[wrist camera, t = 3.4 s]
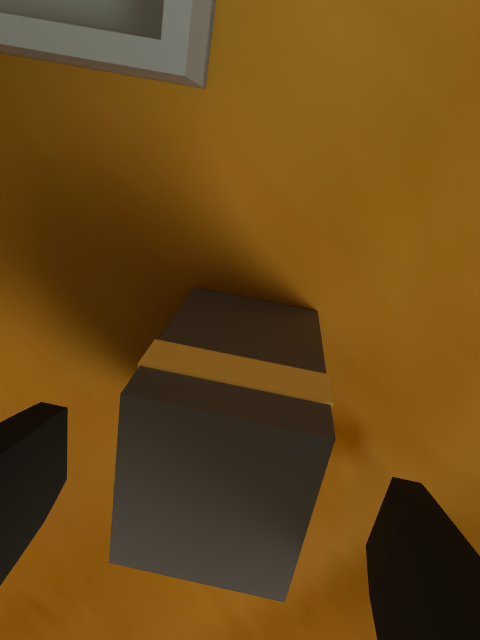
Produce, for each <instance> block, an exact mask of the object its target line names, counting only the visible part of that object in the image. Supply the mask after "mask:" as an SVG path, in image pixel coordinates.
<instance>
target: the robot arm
mask: <svg viewBox="0 0 480 640" xmlns="http://www.w3.org/2000/svg"><path fill="white" fill-rule="evenodd" d="M67 415H68V408H67V407H62V406H58V405H53V404H48V403H44V402H40V403H38V404H36V405H34V406H32V407H30V408H28V409H26V410H24V411H22V412H20V413H18V414H16V415H14V416H12V417H10V418H8V419H6V420H4V421H2V422H1V423H0V585H1V584H2V582H3V581H4V580H5V578H6V577H7V575H8V574H9V572H10V571H11V569H12V568H13V567H14V565H15V564H16V562H17V561H18V559H19V558H20V557H21V555H22V554H23V552H24V551H25V549H26V548H27V546H28V545H29V543H30V542H31V540H32V539H33V538H34V536H35V535H36V533H37V532H38V530H39V529H40V527H41V526H42V524H43V523H44V521H45V519H46V517H47V516H48V514H49V512H50V510H51V508H52V506H53V505H54V503H55V501H56V499H57V497H58V495H59V493H60V491H61V489H62V487H63V485H64V483H65V481H66V480H67ZM366 554H367V571H368V584H369V596H370V601H371V607H372V613H373V618H374V624H375V629H376V635H377V640H480V556H479V555H478V553H477V552H476V551H475V550H474V548H473V547H472V546H471V545H470V543H469V542H468V541H467V540H466V538H465V537H464V536H463V535H462V533H461V532H460V531H459V530H458V528H457V527H456V526H455V525H454V523H453V522H452V521H451V519H450V518H449V517H448V516H447V514H446V513H445V512H444V511H443V509H442V508H441V507H440V505H439V504H438V503H437V502H436V500H435V499H434V498H433V497H432V495H431V494H430V493H429V492H428V491H427V489H426V488H425V487H424V486H423V485H422V483H419V482H414V481H409V480H404V479H400V478H395V477H392V480H391V482H390V485H389V487H388V490H387V492H386V495H385V498H384V500H383V503H382V505H381V508H380V510H379V513H378V516H377V518H376V521H375V523H374V526H373V528H372V531H371V534H370V536H369V539H368V541H367V544H366Z"/></svg>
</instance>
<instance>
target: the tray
mask: <svg viewBox="0 0 480 640" xmlns="http://www.w3.org/2000/svg"><path fill="white" fill-rule="evenodd" d="M215 3H216V0H0V53H5V54H11V55H17V56H22V57H28V58H34V59H39V60H45V61H51V62H56V63H62V64H68V65H73V66H79V67H85V68H90V69H96V70H102V71H108V72H113V73H119V74H125V75H130V76H136V77H142V78H147V79H153V80H159V81H164V82H170V83H176V84H181V85H187V86H193V87H199V88H204V89H205V87H206V78H207V70H208V62H209V53H210V45H211V36H212V28H213V19H214V11H215Z"/></svg>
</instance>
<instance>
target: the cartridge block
mask: <svg viewBox="0 0 480 640" xmlns="http://www.w3.org/2000/svg"><path fill="white" fill-rule="evenodd" d="M333 404H334V402H333V395H332V389H331V382H330V376H329V374H326V368H325V361H324V353H323V346H322V339H321V332H320V325H319V318H318V311H315V310H310V309H305V308H300V307H295V306H290V305H285V304H280V303H274V302H269V301H264V300H259V299H254V298H249V297H244V296H239V295H234V294H229V293H224V292H218V291H213V290H208V289H203V288H198V287H194V288H193V290H192V291H191V293H190V294H189V296H188V297H187V298H186V300H185V301H184V303H183V304H182V306H181V307H180V309H179V310H178V311H177V313H176V314H175V316H174V317H173V319H172V320H171V322H170V323H169V324H168V326H167V327H166V329H165V330H164V332H163V333H162V335H161V336H160V337H159V339H158V340H157V339H155V340H154V341H153V342H152V344H151V345H150V347H149V348H148V349H147V351H146V352H145V354H144V355H143V356H142V358H141V359H140V361H139V362H138V367H137V371H136V372H135V374H134V375H133V376H132V378H131V379H130V381H129V382H128V384H127V385H126V387H125V388H124V389H123V391H122V392H121V395H120V409H119V424H118V439H117V453H116V468H115V482H114V497H113V512H112V526H111V541H110V555H109V563H113V564H117V565H122V566H126V567H131V568H135V569H140V570H144V571H148V572H153V573H157V574H162V575H166V576H170V577H175V578H179V579H184V580H188V581H193V582H197V583H201V584H206V585H210V586H215V587H219V588H224V589H228V590H232V591H237V592H241V593H246V594H250V595H255V596H259V597H263V598H268V599H272V600H277V601H281V602H285V599H286V596H287V593H288V590H289V587H290V583H291V580H292V577H293V574H294V570H295V567H296V564H297V561H298V557H299V554H300V551H301V548H302V545H303V541H304V538H305V535H306V532H307V528H308V525H309V522H310V519H311V515H312V512H313V509H314V506H315V503H316V499H317V496H318V493H319V490H320V486H321V483H322V480H323V477H324V473H325V470H326V467H327V464H328V461H329V457H330V454H331V451H332V448H333V444H334V441H335V433H334V425H333V418H332V407H333Z"/></svg>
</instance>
